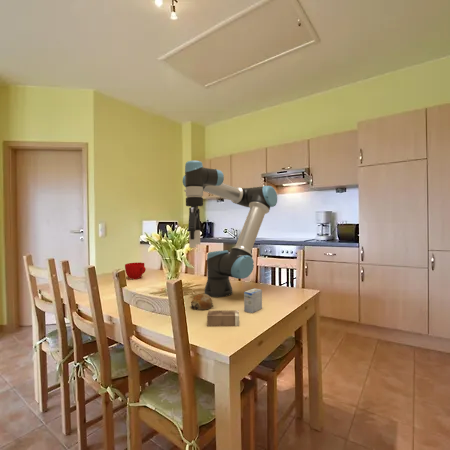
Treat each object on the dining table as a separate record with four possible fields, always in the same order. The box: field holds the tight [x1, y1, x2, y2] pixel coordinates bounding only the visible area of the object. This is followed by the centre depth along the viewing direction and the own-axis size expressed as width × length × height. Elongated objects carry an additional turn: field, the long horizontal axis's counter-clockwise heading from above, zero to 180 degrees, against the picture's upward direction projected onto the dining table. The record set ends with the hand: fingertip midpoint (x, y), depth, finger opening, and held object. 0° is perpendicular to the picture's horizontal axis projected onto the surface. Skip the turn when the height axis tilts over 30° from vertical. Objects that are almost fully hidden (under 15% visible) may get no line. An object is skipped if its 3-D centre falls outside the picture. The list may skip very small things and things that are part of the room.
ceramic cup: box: [124, 262, 147, 280], centre depth 188 cm, size 13×17×10 cm
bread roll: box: [190, 293, 214, 311], centre depth 125 cm, size 10×10×8 cm
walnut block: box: [206, 309, 240, 327], centre depth 105 cm, size 6×4×12 cm
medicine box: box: [243, 288, 263, 314], centre depth 119 cm, size 8×4×9 cm, turn 141°
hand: (195, 245), depth 119 cm, fingers open, 13 cm apart
